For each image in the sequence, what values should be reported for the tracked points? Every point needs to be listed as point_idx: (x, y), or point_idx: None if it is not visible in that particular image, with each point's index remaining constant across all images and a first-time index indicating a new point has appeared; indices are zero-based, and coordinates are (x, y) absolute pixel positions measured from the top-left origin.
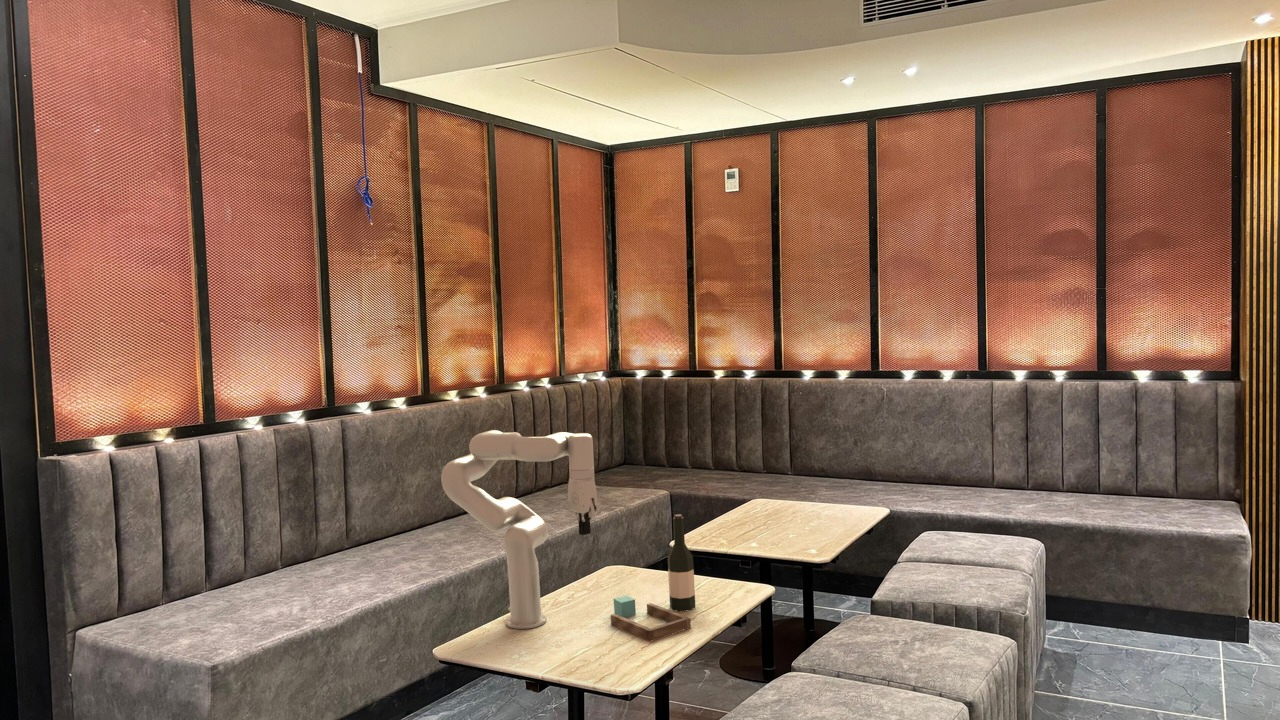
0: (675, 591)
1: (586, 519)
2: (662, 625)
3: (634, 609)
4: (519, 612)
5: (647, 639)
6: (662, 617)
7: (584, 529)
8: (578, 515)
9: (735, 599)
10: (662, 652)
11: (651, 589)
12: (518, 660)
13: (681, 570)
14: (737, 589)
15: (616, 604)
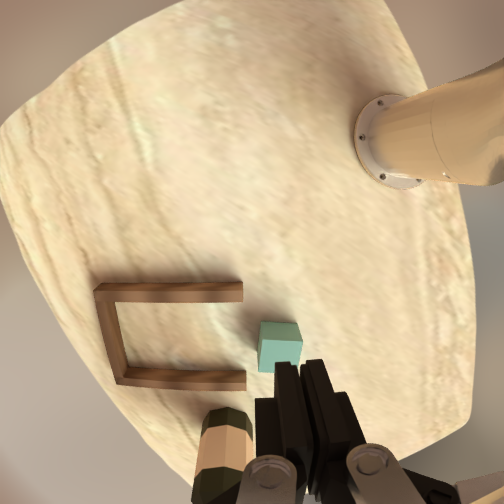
0: (215, 436)
1: (216, 498)
2: (107, 328)
3: (257, 356)
4: (392, 105)
5: (109, 283)
6: (192, 372)
7: (265, 408)
8: (375, 499)
9: None
10: (50, 265)
11: None
12: (196, 19)
13: (199, 475)
14: None
15: (287, 335)
